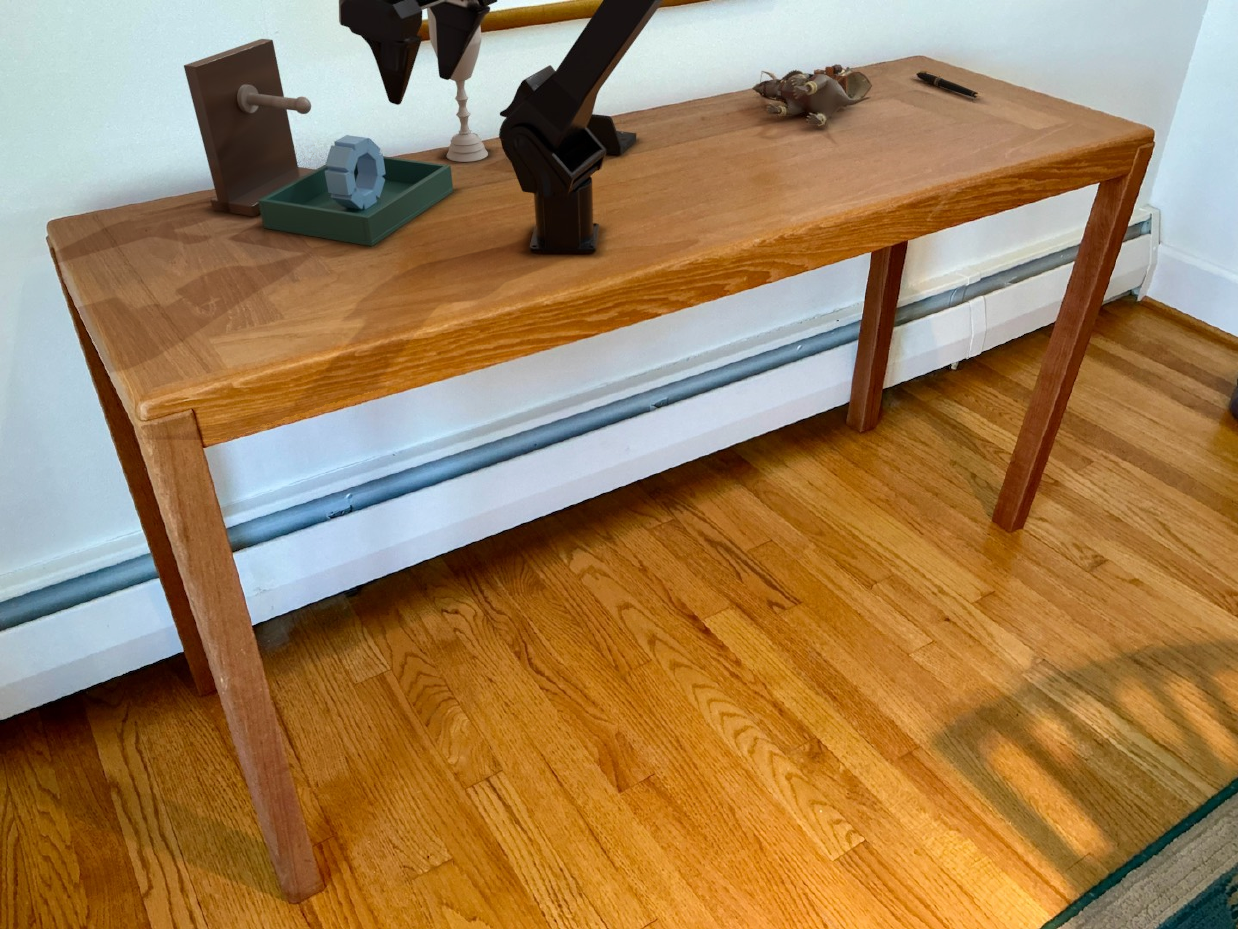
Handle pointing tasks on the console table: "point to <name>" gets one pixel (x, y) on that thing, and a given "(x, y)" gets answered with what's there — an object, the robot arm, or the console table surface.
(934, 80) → the fountain pen
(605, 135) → the bookend
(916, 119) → the console table surface
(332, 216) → the tray
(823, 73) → the figurine
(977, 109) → the console table surface
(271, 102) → the hook rack
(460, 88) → the chalice
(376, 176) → the blue segmented ring
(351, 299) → the console table surface
